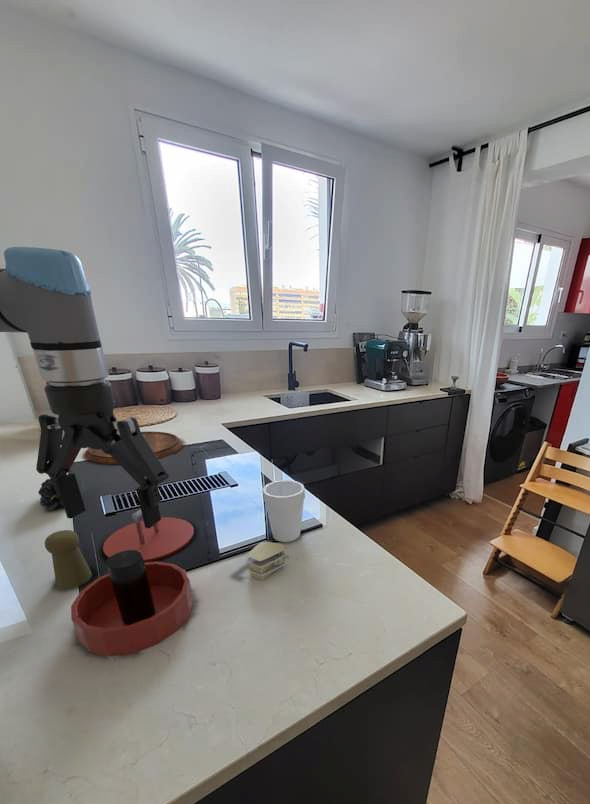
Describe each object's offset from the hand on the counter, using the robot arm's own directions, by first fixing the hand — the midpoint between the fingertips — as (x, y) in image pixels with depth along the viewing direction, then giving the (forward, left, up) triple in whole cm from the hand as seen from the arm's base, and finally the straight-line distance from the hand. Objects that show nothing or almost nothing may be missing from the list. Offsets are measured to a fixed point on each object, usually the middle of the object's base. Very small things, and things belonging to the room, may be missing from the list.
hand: (114, 519), depth 61 cm
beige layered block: (+17, +17, -20) cm, 31 cm away
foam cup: (+16, +31, -20) cm, 40 cm away
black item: (0, 0, -20) cm, 20 cm away
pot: (0, 0, -20) cm, 20 cm away
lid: (-14, +22, -20) cm, 33 cm away
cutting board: (-60, +76, -20) cm, 99 cm away
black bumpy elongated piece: (-50, +34, -20) cm, 64 cm away
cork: (-19, +6, -20) cm, 29 cm away
